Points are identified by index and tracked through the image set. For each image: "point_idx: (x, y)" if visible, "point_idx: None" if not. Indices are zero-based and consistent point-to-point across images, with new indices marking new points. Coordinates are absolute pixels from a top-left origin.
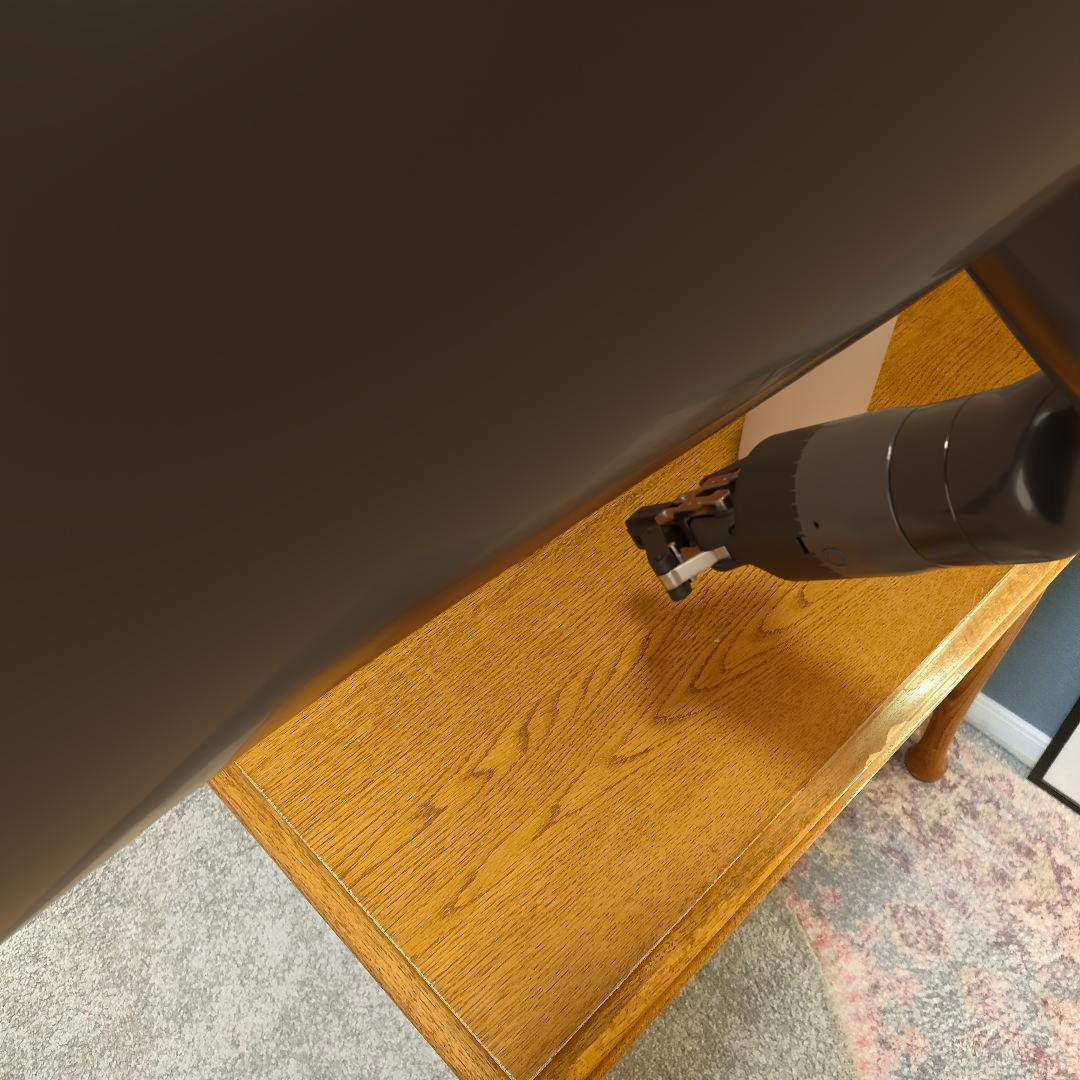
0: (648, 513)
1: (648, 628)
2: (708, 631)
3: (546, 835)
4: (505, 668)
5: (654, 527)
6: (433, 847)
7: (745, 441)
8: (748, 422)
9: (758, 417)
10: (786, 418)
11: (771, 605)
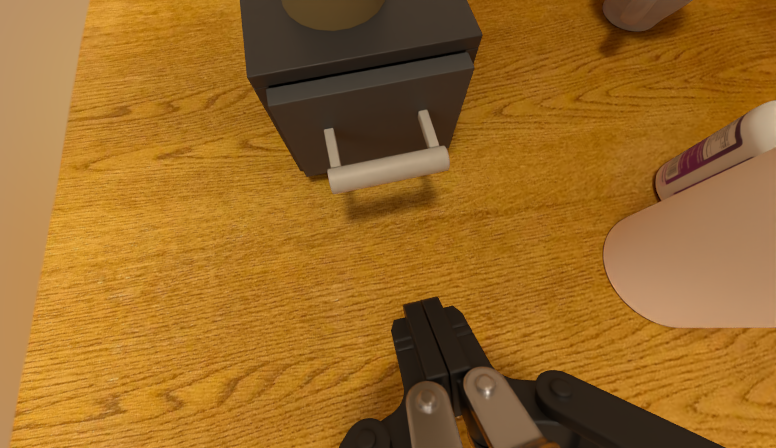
0: (425, 339)
1: None
2: None
3: None
4: (265, 311)
5: (378, 440)
6: (87, 443)
7: (633, 232)
8: (657, 220)
9: (682, 230)
10: (734, 266)
11: None
